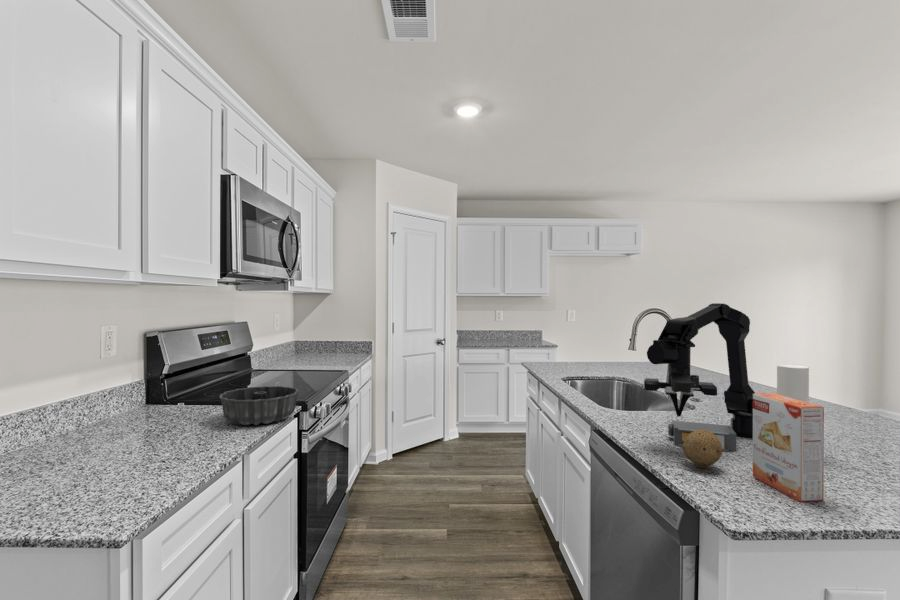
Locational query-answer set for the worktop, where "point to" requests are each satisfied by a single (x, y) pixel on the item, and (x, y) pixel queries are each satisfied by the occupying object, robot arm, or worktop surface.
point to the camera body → (683, 429)
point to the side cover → (720, 439)
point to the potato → (702, 448)
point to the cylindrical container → (793, 381)
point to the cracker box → (789, 445)
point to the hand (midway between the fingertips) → (678, 416)
